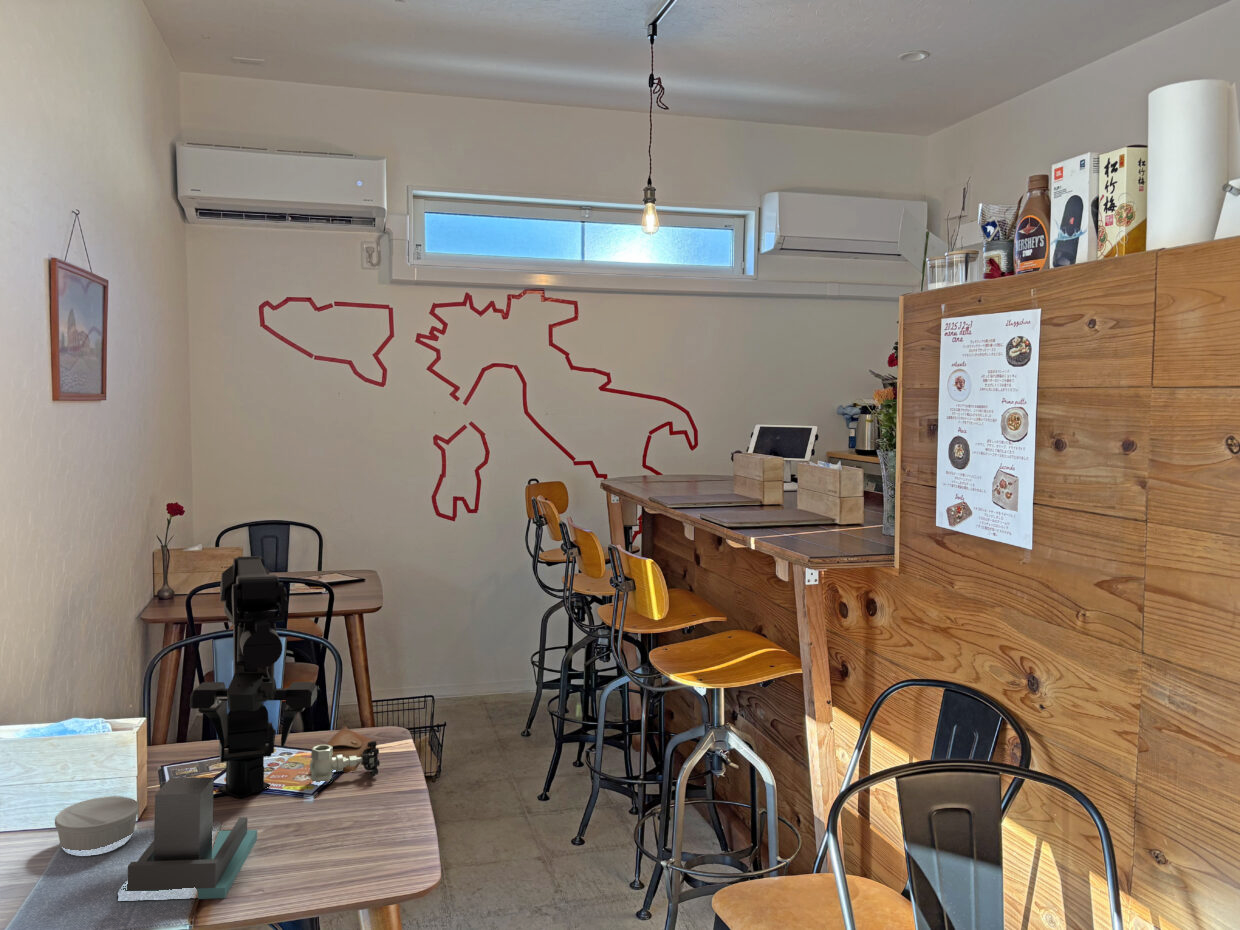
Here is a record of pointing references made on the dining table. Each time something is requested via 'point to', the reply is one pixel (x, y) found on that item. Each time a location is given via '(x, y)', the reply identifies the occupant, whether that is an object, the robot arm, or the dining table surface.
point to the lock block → (184, 819)
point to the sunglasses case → (348, 745)
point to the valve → (340, 761)
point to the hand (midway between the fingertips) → (253, 746)
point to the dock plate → (196, 866)
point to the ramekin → (96, 822)
